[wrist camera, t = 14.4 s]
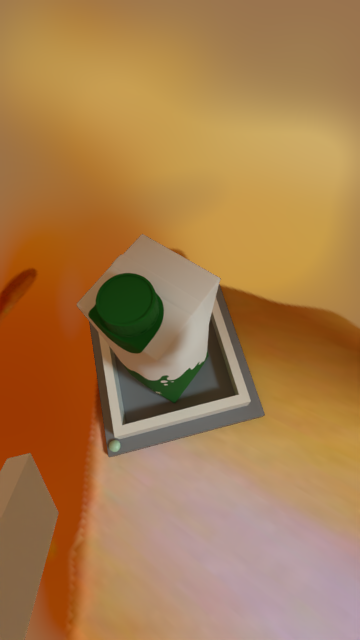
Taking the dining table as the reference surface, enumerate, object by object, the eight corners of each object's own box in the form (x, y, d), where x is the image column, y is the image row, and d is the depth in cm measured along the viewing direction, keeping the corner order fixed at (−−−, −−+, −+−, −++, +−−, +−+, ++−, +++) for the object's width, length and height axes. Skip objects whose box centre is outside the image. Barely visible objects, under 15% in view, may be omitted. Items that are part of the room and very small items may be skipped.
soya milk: (118, 372, 40) (52, 291, 22) (163, 317, 43) (137, 204, 25) (176, 415, 38) (156, 364, 19) (220, 353, 40) (237, 258, 22)
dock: (218, 286, 46) (219, 272, 42) (263, 416, 38) (269, 411, 35) (90, 317, 45) (82, 305, 41) (110, 457, 37) (102, 455, 34)
